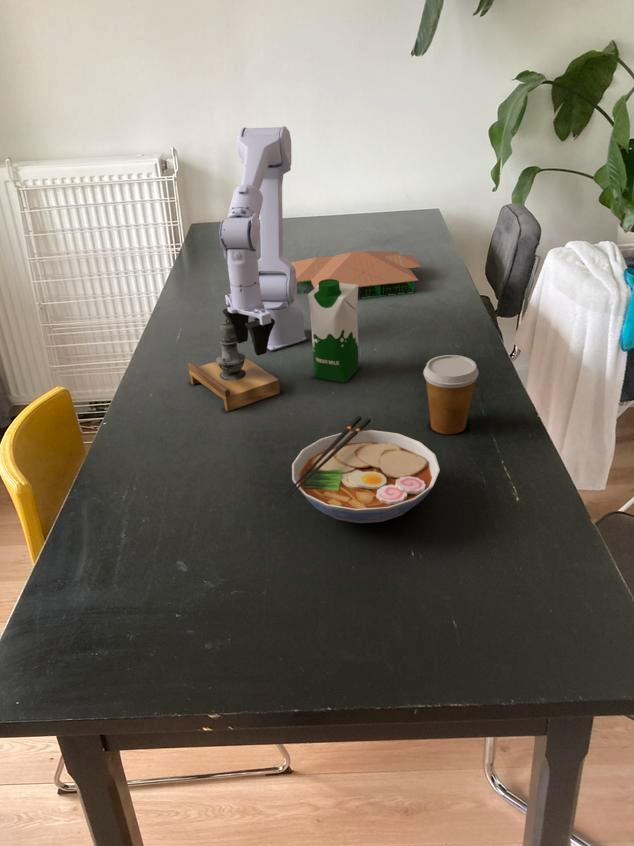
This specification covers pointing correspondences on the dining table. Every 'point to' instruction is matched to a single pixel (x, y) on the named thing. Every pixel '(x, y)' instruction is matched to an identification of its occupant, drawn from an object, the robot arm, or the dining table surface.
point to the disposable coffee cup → (450, 391)
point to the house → (359, 269)
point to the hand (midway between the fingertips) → (251, 347)
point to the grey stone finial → (230, 354)
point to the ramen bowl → (365, 474)
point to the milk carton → (334, 329)
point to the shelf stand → (236, 383)
